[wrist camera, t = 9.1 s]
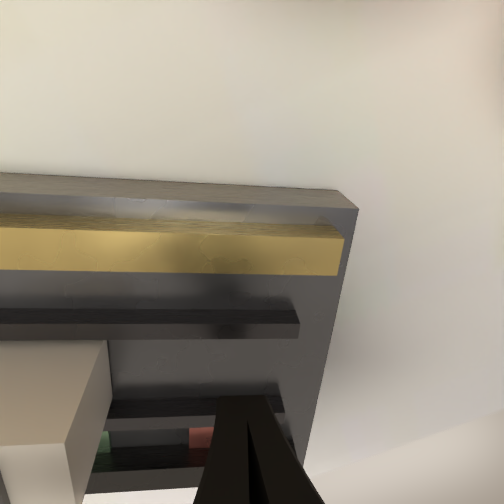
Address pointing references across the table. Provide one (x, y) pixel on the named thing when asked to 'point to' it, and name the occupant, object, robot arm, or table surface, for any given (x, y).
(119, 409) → the breaker panel
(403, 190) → the table surface
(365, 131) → the table surface
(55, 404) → the block
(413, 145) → the table surface
